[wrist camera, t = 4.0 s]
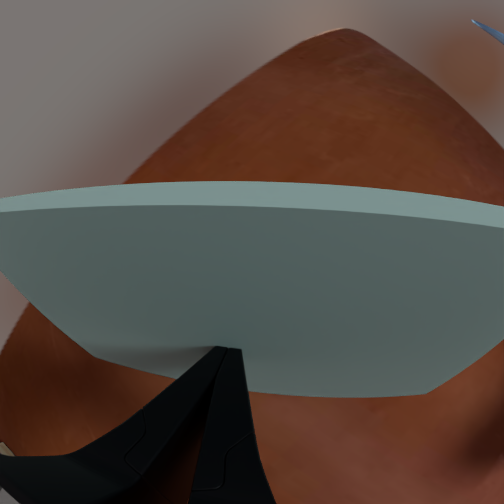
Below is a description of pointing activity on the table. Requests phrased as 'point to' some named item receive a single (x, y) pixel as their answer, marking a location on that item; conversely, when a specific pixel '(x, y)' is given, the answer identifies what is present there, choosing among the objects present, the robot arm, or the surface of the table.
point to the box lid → (266, 280)
